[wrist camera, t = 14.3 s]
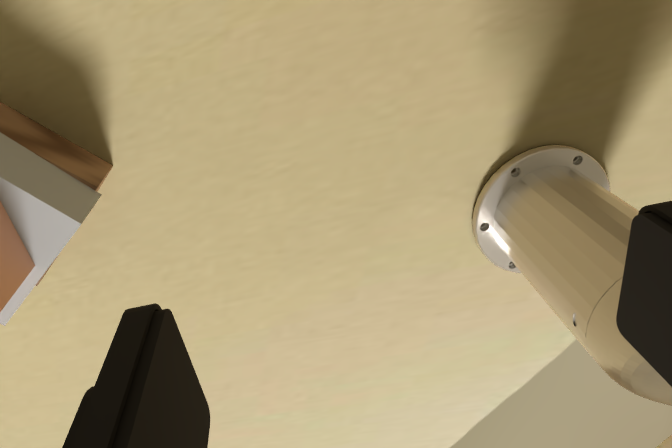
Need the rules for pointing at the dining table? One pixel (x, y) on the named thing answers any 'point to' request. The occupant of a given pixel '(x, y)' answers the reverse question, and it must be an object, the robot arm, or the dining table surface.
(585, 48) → the dining table surface
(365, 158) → the dining table surface
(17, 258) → the block
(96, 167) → the tower base
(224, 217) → the dining table surface
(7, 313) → the tower top
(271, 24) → the dining table surface
